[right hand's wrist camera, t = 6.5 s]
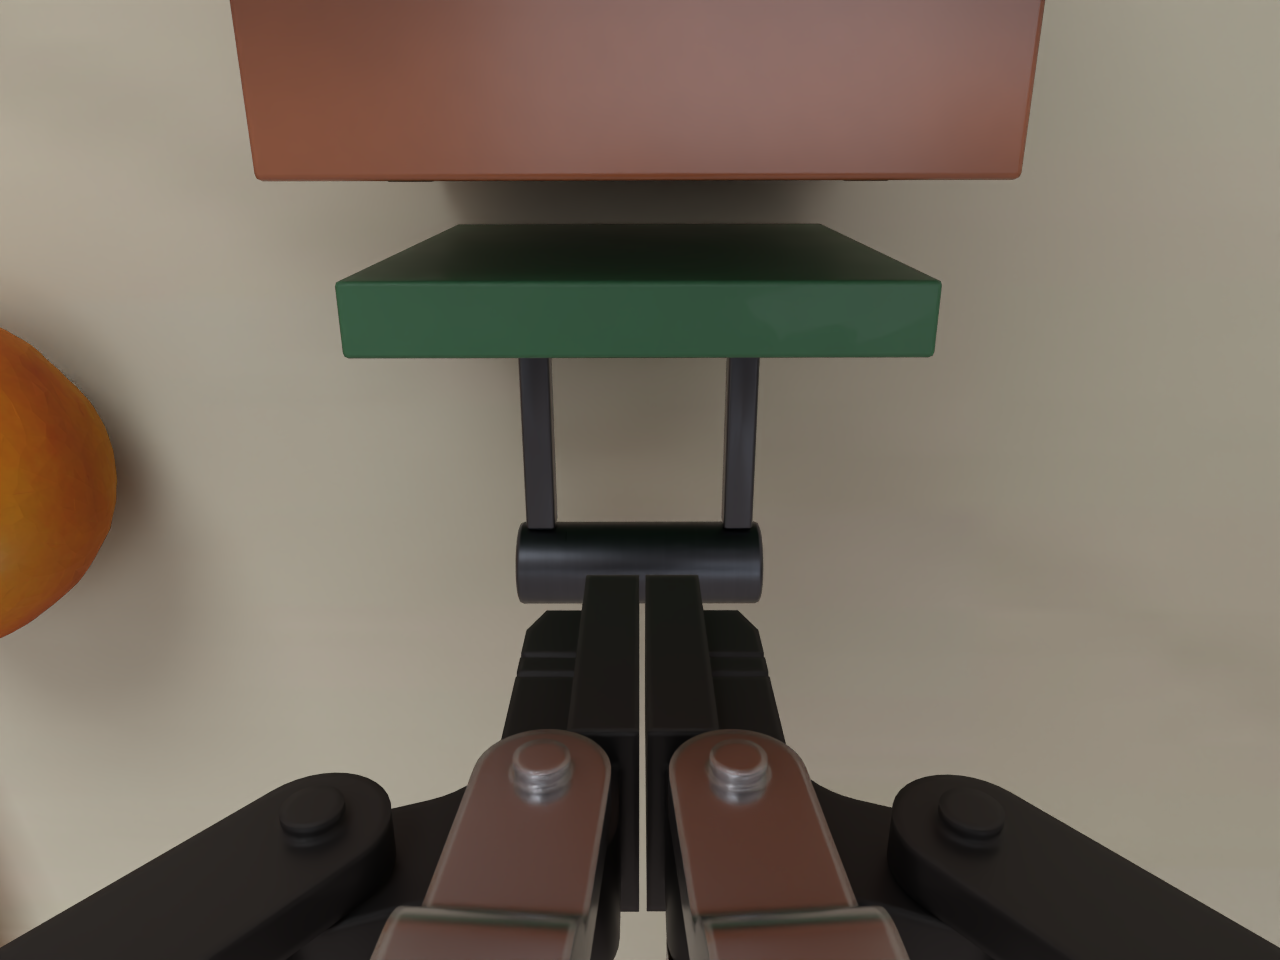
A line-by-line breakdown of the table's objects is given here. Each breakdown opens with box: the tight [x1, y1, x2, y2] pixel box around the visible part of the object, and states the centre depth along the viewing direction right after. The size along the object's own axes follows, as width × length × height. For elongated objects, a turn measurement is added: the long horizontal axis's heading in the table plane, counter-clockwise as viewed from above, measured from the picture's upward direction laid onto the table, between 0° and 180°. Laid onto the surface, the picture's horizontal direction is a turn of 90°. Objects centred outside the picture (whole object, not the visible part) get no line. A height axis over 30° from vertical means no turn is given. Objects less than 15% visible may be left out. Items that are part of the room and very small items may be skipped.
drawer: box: [335, 180, 942, 603], centre depth 17 cm, size 23×9×10 cm, turn 0°
